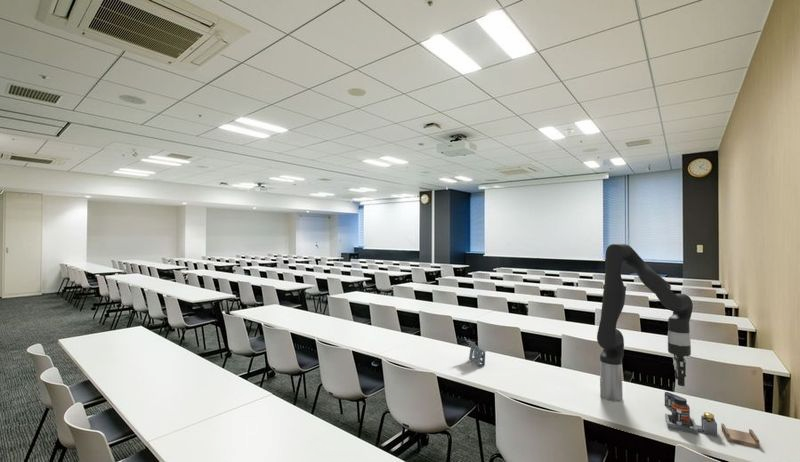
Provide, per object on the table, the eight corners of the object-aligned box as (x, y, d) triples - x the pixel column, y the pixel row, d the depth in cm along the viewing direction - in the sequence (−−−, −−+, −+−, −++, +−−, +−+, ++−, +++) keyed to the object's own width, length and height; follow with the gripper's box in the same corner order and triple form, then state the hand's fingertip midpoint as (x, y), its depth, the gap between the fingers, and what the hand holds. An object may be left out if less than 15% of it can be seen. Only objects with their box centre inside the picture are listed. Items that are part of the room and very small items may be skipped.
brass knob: (704, 430, 142) (704, 414, 142) (703, 427, 145) (702, 411, 145) (715, 432, 141) (714, 416, 141) (713, 429, 143) (713, 413, 144)
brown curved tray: (727, 440, 137) (726, 433, 137) (721, 430, 144) (721, 423, 144) (759, 448, 132) (759, 440, 132) (751, 436, 140) (751, 429, 140)
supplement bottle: (682, 430, 144) (682, 402, 144) (668, 423, 150) (667, 396, 150) (693, 428, 146) (693, 400, 146) (678, 421, 151) (678, 394, 152)
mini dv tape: (664, 405, 166) (664, 392, 167) (666, 404, 167) (666, 391, 167) (684, 413, 159) (683, 399, 159) (686, 412, 159) (685, 398, 159)
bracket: (464, 360, 228) (464, 337, 228) (477, 359, 231) (477, 335, 231) (474, 367, 215) (474, 342, 216) (488, 366, 218) (488, 341, 219)
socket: (667, 428, 146) (667, 415, 146) (665, 418, 154) (664, 406, 154) (718, 439, 138) (718, 426, 138) (713, 428, 146) (712, 415, 146)
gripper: (665, 337, 156) (666, 375, 156) (669, 345, 144) (670, 386, 144) (687, 339, 153) (688, 378, 152) (693, 348, 140) (694, 390, 140)
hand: (679, 382), depth 148 cm, fingers open, 7 cm apart
